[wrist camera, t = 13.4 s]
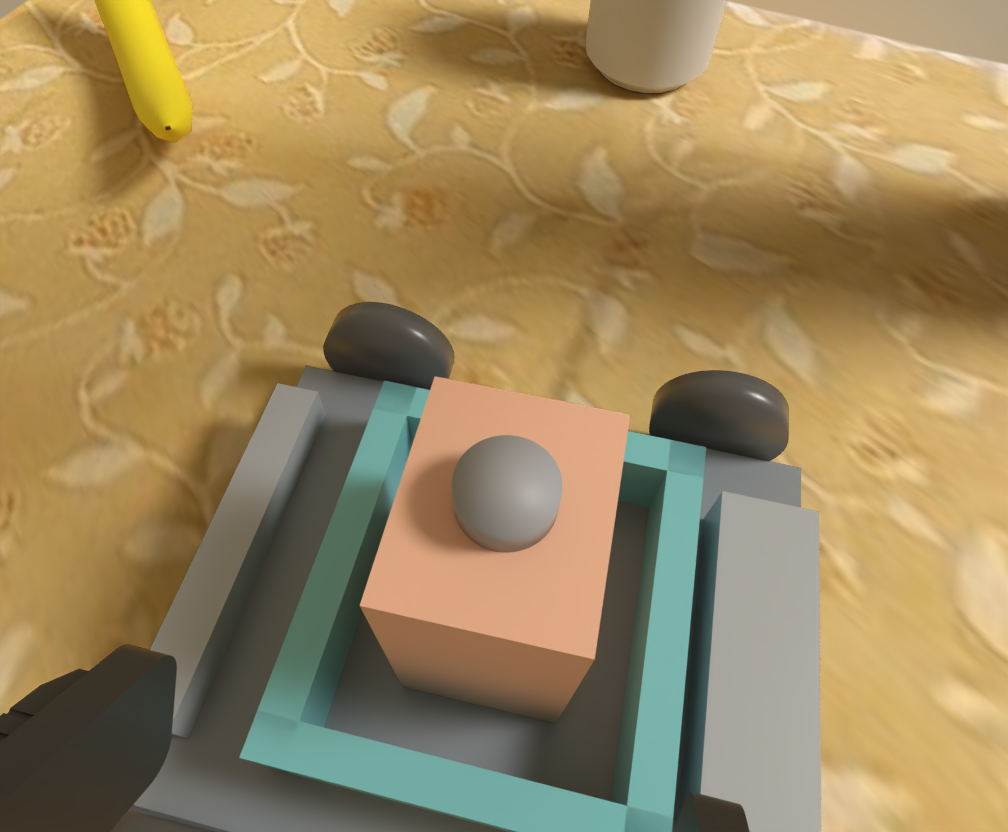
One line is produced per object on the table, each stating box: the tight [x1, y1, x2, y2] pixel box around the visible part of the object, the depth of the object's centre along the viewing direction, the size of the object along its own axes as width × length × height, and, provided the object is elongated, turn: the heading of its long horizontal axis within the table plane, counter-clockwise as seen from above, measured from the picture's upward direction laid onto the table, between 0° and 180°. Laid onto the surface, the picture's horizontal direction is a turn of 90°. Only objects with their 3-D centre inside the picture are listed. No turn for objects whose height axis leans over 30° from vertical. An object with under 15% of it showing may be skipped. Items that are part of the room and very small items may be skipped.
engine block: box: [360, 376, 630, 723], centre depth 20 cm, size 6×5×10 cm
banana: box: [95, 0, 192, 142], centre depth 37 cm, size 3×19×6 cm, turn 26°
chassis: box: [110, 302, 821, 832], centre depth 23 cm, size 18×20×5 cm
